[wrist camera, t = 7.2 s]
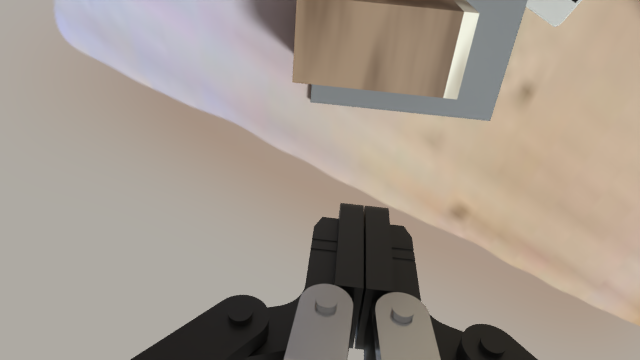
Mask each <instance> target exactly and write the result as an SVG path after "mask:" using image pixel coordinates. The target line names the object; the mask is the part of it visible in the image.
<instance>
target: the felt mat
mask: <svg viewBox="0 0 640 360" xmlns="http://www.w3.org/2000/svg"><path fill="white" fill-rule="evenodd" d="M466 1H467V2H468V3H469V4H470V5H471V6H472V7H474V8H475V9H476V10H477V11H478V12H479V17H478V21H477V25H476V29H475V33H474V36H473V40H472V44H471V48H470V52H469V56H468V59H467V63H466V67H465V71H464V75H463V79H462V82H461V86H460V90H459V94H458V98H457V99H448V98H438V97H429V96H419V95H409V94H400V93H390V92H381V91H371V90H361V89H352V88H342V87H332V86H323V85H313V84H312V88H311V102H313V103H323V104H332V105H342V106H352V107H361V108H371V109H380V110H390V111H400V112H409V113H419V114H428V115H438V116H448V117H457V118H467V119H476V120H486V121H490V119H491V116H492V113H493V110H494V107H495V103H496V100H497V97H498V94H499V90H500V87H501V84H502V81H503V78H504V74H505V71H506V68H507V65H508V62H509V58H510V55H511V52H512V49H513V45H514V42H515V39H516V36H517V33H518V29H519V26H520V23H521V20H522V17H523V13H524V10H525V7H526V4H527V0H466Z"/></svg>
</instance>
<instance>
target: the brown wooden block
mask: <svg viewBox="0 0 640 360" xmlns="http://www.w3.org/2000/svg"><path fill="white" fill-rule="evenodd" d="M478 17H479V12H478V11H477V10H476V9H475V8H474V7H472V6H471V5H470V4H469V3H468V2H467V1H466V0H297V1H296V21H295V41H294V61H293V81H292V82H294V83H304V84H313V85H323V86H332V87H342V88H352V89H361V90H371V91H381V92H390V93H400V94H409V95H419V96H429V97H438V98H448V99H457V98H458V94H459V90H460V86H461V82H462V79H463V75H464V71H465V67H466V63H467V59H468V56H469V52H470V48H471V44H472V40H473V36H474V33H475V29H476V25H477V21H478Z"/></svg>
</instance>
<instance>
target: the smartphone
mask: <svg viewBox="0 0 640 360" xmlns="http://www.w3.org/2000/svg"><path fill="white" fill-rule="evenodd" d="M581 1H582V0H527V4H526V7H527V8H529V9H530V10H531V11H533V12H534V13H536V14H537V15H538V16H540V17H541V18H542V19H544V20H545V21H547V22H548V23H549V24H551V25H552V26H554V27H556V26H558V25H560V24H561V23H562V22H563V21H564V20H565V19H566V18H567V17H568V15H569V14H570V13H571V12H572V11H573V10H574V9H575V7H576V6H577V5H578V4H579V3H580V2H581Z"/></svg>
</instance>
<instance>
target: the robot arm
mask: <svg viewBox="0 0 640 360" xmlns="http://www.w3.org/2000/svg"><path fill="white" fill-rule="evenodd" d="M354 338H355V348H356V349H363V350H364V360H537V359H536V358H535V357H534V356H533V355H532V354H530V353H529V352H528V351H526V350H525V348H523V347H522V346H521V345H520V344H519V343H518V342H516V341H515V340H514V339H513V338H512V337H511V336H510V335H508V334H507V333H505V332H504V331H502V330H501V329H499V328H496V327H494V326H491V325H487V324H475V325H472V326H470V327H468V328H467V329H466V330H465V331H464V332H462V331H459V330H457V329H454V328H452V327H449V326H447V325H445V324H442V323H440V322H439V321H437V320H436V319H434V318H433V317H432V316H431V315H430V314H429V312H428V310H427V308H426V306H425V305H424V304H423V303H422V302H421V298H420V292H419V285H418V278H417V271H416V264H415V257H414V252H413V242H412V237H411V236H410V234H409V233H408V232H407V230H406V229H405V227H404V226H398V225H390V222H389V210H388V208H381V207H372V206H365V207H363V206H362V205H353V204H344V203H341V204H340V211H339V219H335V218H326V217H322V218H321V219H320V220H319V222H318V223H317V224H316V225H315V226H314V231H313V238H312V245H311V252H310V258H309V265H308V271H307V278H306V285H305V289H304V291H303V292H302V294H301V295H300V296H299V297H298V298H297V299H296V300H294V301H293V302H290V303H288V304H285V305H282V306H275V307H269V308H267V307H266V305H265V304H264V303H263V302H262V301H261V300H259V299H257V298H255V297H253V296H248V295H236V296H232V297H229V298H227V299H225V300H223V301H221V302H220V303H218V304H217V305H215V306H214V307H212V308H210V309H209V310H207V311H206V312H204V313H203V314H201V315H200V316H198V317H196V318H195V319H193V320H192V321H190V322H189V323H187V324H185V325H184V326H182V327H181V328H179V329H178V330H176V331H175V332H173V333H171V334H170V335H168V336H167V337H165V338H164V339H162V340H160V341H159V342H157V343H156V344H154V345H153V346H151V347H150V348H148V349H146V350H145V351H143V352H142V353H140V354H139V355H137V356H135V357H134V358H132V359H131V360H347V357H348V351H349V348H353V343H354Z"/></svg>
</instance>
